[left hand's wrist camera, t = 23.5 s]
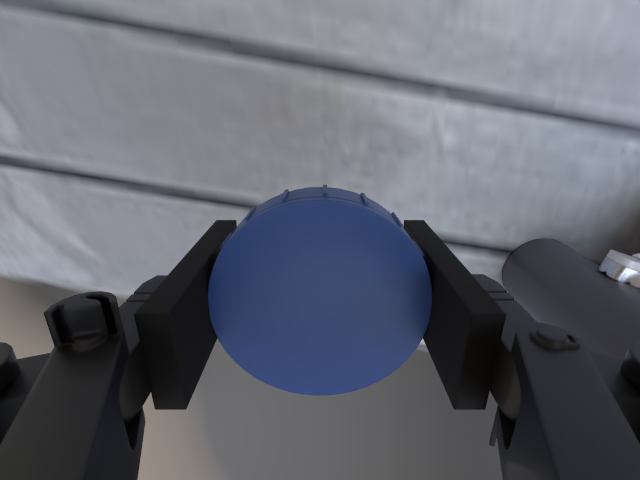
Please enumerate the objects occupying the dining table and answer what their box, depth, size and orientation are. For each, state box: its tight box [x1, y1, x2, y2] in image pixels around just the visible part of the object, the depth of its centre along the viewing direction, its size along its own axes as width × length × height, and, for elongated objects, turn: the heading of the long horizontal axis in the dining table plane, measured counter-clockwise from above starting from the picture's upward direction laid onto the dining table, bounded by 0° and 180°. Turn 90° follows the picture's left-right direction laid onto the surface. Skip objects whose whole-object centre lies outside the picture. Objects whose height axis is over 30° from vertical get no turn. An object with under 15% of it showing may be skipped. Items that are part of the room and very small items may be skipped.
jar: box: [502, 239, 640, 358], centre depth 21 cm, size 6×6×17 cm
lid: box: [208, 185, 433, 395], centre depth 11 cm, size 7×7×2 cm
